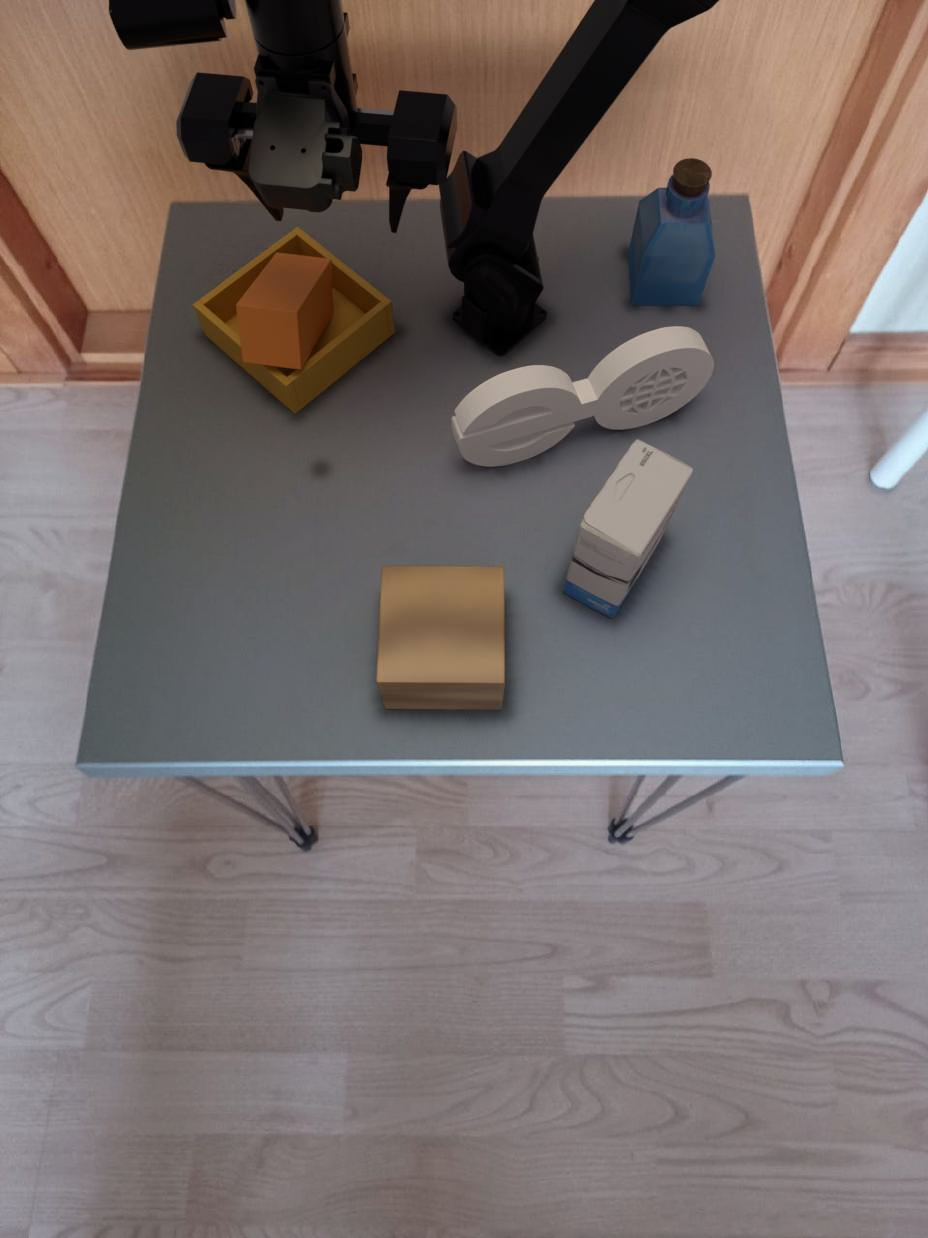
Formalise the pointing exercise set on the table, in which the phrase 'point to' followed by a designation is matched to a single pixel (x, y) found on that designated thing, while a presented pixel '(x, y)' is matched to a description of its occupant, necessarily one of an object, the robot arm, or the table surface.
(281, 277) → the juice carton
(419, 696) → the riser block
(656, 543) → the ink box
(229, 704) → the table surface
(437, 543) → the table surface
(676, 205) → the perfume bottle
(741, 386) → the table surface
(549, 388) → the white double disc
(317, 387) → the tray
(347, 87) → the robot arm
